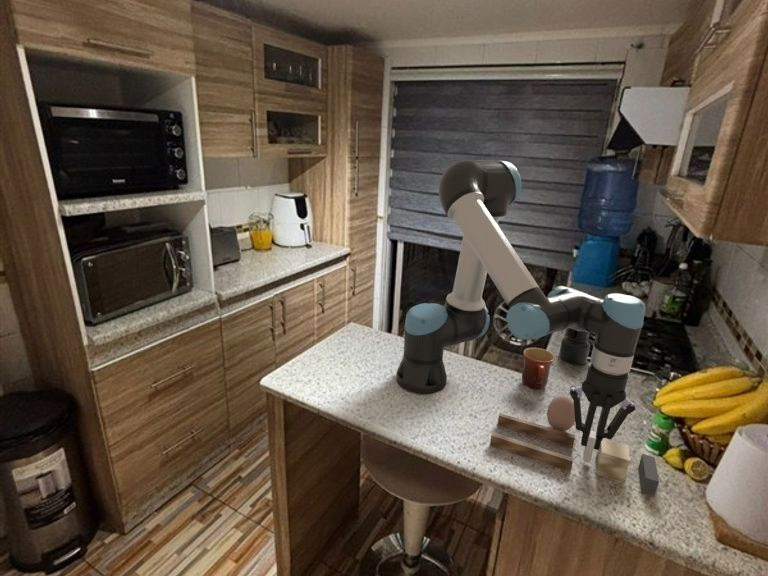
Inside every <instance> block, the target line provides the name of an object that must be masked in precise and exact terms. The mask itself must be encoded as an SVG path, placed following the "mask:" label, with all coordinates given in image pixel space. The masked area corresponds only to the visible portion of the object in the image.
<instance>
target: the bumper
mask: <svg viewBox="0 0 768 576" xmlns="http://www.w3.org/2000/svg"><path fill="white" fill-rule="evenodd" d="M637 469H638V480H639V487H640V493H641V494H644V495H648V496H650V497H652V498H653V497H655V496H656V493H657V489H658V486H659V483H660V479H659V473H658V467H657V462H656V458H655V457H654V456H651V455H648V454H644V453H641V456H640V460H639V463H638V467H637Z"/></svg>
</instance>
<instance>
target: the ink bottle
mask: <svg viewBox="0 0 768 576" xmlns="http://www.w3.org/2000/svg"><path fill="white" fill-rule="evenodd" d="M590 334H591V333H590V332H587V331H585V330H583V329H580V328H578V327H572V328H568V329H566V335H565V336H564V337H562V338H561V341H560V345H559V346H560V348H559V352H558V357H559V359H560V360H562V361H563V362H565V363H568V364H571V365H575V366H576V365H577V366H582V365H585V364H586V363H587V361H588V358H589V354H590V348H591V344H590V342H589V341H588V340H589V338H590Z"/></svg>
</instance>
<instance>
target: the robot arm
mask: <svg viewBox="0 0 768 576" xmlns="http://www.w3.org/2000/svg"><path fill="white" fill-rule="evenodd" d="M439 180H440V181H439V184H438V199H439V202H440V204H441V208H442V209H443V211H444V214H446V217H447V218H448V219H449V220H450V221H452V222H455V223H456V224H457V226H458V227H459V229H460V231H461V232H462V234H463V236H462V239H461V240H462V241H461V245H460V252H459V256H458V263H457V267H456V273H455V278H454V283H453V288H452V292H450V293H448V294H447V296H446V298H445V304H444V305H441V304H439V303H436V302H435V303H434V302H430V303H428V302H424V303H420V304H416V305H414V306H412V307H410V308H409V310H408V311H407V312H406V316H405V322H404V341H403V356H402V359H401V361H400V363H399V365H398V368H397V370H396V377H395V378H396V383H397V384H398V386H399V387H400V388H402V389H403V390H405V391H407V392H409V393H411V394H412V393H413V394H418V395H431V394H432V395H433V394H437V393H440V392H441V391H442V390H444V389H445V388H446V386H447V381H448V380H447V379H448V377H447V371H446V368H445V367H446V366H445V364H444V363H445V362H444V360H443V358H444V348H448V347H451V346H455V345H457V344H462V343H466V342H472V341H474V340H476V339H478V338H481V337H483V336H484V335H485V333H487V331H488V329H489V327H490V317H491V316H490V315H489V314H488V313H489V309H488V308H487V307H486V303H485V300H484V299H483V292H484V288H485V284H486V279H487V275H488V276H489V277H490V279H491V281H492V282H493V284H494V285H495V286H496V289H497V290H498V292H499V293H500V295H501V297H502V298H503V300H504V301H505V304H507V306H508V310H507V312H506V317H505V318H506V319H505V320H506V322H507V328H508V330H509V332H511V334H512V335H513V336H514V337H516V338H517V339H520V340H524V341H525V340H526V341H527V340H534V339H540V338H544V337H545V336H547V335H551V334H553V333H556V332H561V331H565V330H567V329H568V328H572V327H578V328H580V329H583V330H585V331H587V332H590V333H589V334H593V335H595V336H594V341H593V342H594V343H593V346H592V351H591V355H590V360H589V361H590V363H588V364H589V365H588V369H587V372H586V377H585V380H584V381H583V382H582V383H581V385H577V386H576V385H571V386H570V388H569V394H570V396H571V398H572V399H571V400H572V401H573V403H574V413H575V423H574V425H575V429H576V431H580V432H582V436H581V440H580V441H581V442H580V444H581V446H583V447H584V451H583V455H582V456H583V457H582V461H584V462H587V463H589V464H590V463H591V460H592V456H593V453H594V450H596V451H598V450H599V448H600V444H601V441H602V440H603V438H605V439H609V440H612V439H613V438H614V437H615V435H616V433H617V432H618V431H619V429H620V427H621V426H622V425H623V423H624V422H625V420H626V419H627V417H628V416H629V415H630V414H631V413H633V412H635V411H636V403H635V401H634V400H632V399H629V398H628V397H627V393H626V387H627V383H628V379H629V378H630V377H629V376H630V374H629V373H630V371H631V368H632V364H633V360H634V357H635V353H636V349H637V345H638V342H639V339H640V335H641V332H642V331H641V330H642V328H643V327H644V318H645V314H646V308H647V307H646V304H645V302H644V301H643V300H642V299H640V298H638V297H636V296H633V295H629V294H628V295H627V294H623V293H609V294H606V295H605V297H604V299H602V298H599V297H596V296H594V295H591V294H588V293H587V292H586V293H585V292H583V291H581V290H578V289H576V288H573V287H567V286H563V285H559V286H555V287H554V289H553V290H551V291H550V292H548V294H547V296H546V295H545V293H544V292H543V290H542V288H540V286H539V285H538V283H537V282H536V280H535V278H534V277H533V276H532V274H531V272H530V271H529V270H528V268H527V266H526V265H525V264H524V262H523V260H522V259H521V257H520V256H519V254H517V252H516V250H515V248H514V247H513V246H512V244H511V243H510V241H509V239H508V238H507V237H506V236H505V234H504V232H503V230H502V229H501V228H500V226H499V221H500V220H502V219H503V218H505V217H506V215H507V212H508V207H509V206H510V205H512V204H514V203H515V202H516V201H517V200H518V199H519V198H520V195H521V193H522V186H523V185H522V178H521V175H520V173H519V171H518V169H517V167H516V166H515V165H514V164H513V163H512V162H510V161H506V160H500V159H461V160H458V161H455V162H453V163H452V164H450V165H449V166H448V167H447V168H446V169H445V171H444V172H443V173H442V175H441V178H440V179H439ZM583 394H584V396H585V398H586V399H587V401H588V402H589V406H588V408H587V413H586V417H585V421H584V423H583V420H582V418H583V416H582V405H581V404H582V403H581V397H582V395H583ZM620 403H621V406H620V407H619V409H618V410H617V412H616V414H615V415H614V417H613V418H612V419H611V421H610V423H608V418H609V416H610V415H609V414H610V411H611V409H612V408H614V407H615V406H617V405H619V404H620ZM598 407H601V411H600V415H599V418H598V423H597V427H596V431H594V430H592V428H593V427H592V426H593V424H594V423H593V422H594V419H595V414H596V412H597V408H598ZM607 423H608V424H609V425H608V426H607V428H606V425H607Z"/></svg>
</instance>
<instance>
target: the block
mask: <svg viewBox="0 0 768 576" xmlns="http://www.w3.org/2000/svg"><path fill="white" fill-rule="evenodd" d="M629 447H630V446H629V445H628V444H626V443H622V442H619V441H616V440H612V439H607V438H603V440H602V441H601V444H600V448H599V450H596V451H597V452H596V455H595V475H598V476H599V477H603V478H606V479H609V480H613V481H616V482H618V483H622V484H624V483H625V479H626V476H627V472H628V470H629V469H628V468H629V465H630V461H631V459H630V449H629Z"/></svg>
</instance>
